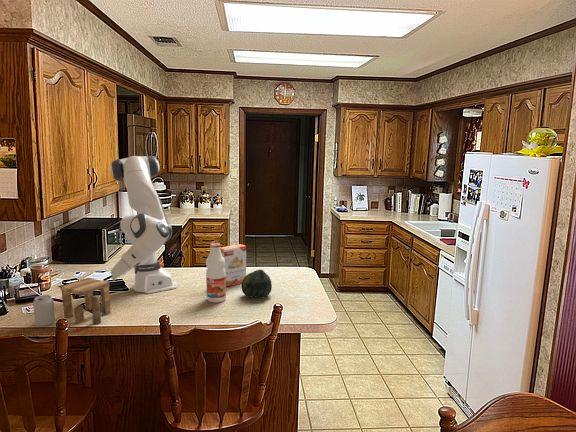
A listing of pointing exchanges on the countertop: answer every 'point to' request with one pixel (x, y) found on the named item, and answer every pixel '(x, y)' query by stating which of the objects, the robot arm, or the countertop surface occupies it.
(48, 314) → the can
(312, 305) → the countertop surface
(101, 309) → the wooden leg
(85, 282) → the stool
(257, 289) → the squash
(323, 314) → the countertop surface
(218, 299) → the fruit juice
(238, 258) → the cracker box
